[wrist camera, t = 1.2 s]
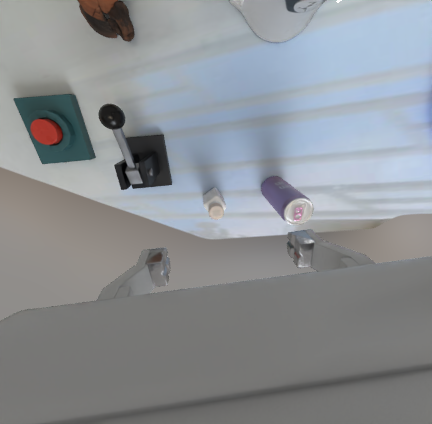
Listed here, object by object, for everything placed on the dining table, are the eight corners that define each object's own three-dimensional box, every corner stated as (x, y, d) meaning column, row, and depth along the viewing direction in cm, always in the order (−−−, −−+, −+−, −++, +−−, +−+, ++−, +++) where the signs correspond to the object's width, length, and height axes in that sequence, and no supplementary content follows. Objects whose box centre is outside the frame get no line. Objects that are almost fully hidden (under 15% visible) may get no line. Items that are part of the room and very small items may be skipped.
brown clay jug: (68, 5, 35) (42, -60, 27) (116, -14, 37) (105, -79, 29) (116, 66, 36) (106, 22, 28) (159, 44, 39) (160, -2, 31)
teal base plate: (22, 99, 39) (4, 97, 36) (75, 95, 40) (63, 93, 36) (49, 162, 44) (35, 166, 41) (95, 157, 45) (86, 161, 41)
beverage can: (260, 199, 52) (282, 227, 39) (260, 176, 50) (284, 198, 36) (282, 197, 53) (312, 224, 39) (284, 174, 50) (317, 195, 36)
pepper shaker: (214, 186, 50) (218, 200, 41) (224, 198, 51) (229, 214, 43) (201, 195, 51) (202, 211, 42) (211, 207, 52) (214, 224, 44)
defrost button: (32, 119, 38) (25, 120, 36) (57, 117, 38) (51, 118, 36) (43, 144, 40) (36, 145, 38) (66, 142, 40) (61, 143, 38)
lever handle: (98, 101, 29) (90, 110, 27) (122, 99, 29) (116, 108, 27) (130, 175, 39) (126, 186, 36) (148, 173, 39) (146, 184, 37)
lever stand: (121, 138, 44) (95, 145, 32) (163, 134, 44) (152, 140, 33) (134, 187, 48) (115, 208, 37) (172, 183, 49) (164, 203, 38)
